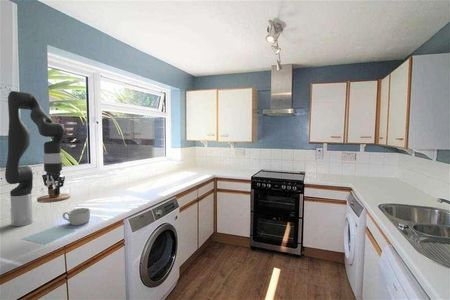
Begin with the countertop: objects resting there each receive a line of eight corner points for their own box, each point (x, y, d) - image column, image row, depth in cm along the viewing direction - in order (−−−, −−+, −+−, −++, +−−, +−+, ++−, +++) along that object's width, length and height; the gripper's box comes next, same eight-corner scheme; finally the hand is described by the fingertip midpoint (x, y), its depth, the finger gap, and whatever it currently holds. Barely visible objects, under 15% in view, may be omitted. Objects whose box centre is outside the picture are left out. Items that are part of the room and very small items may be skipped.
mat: (21, 240, 115) (21, 239, 115) (54, 228, 130) (54, 226, 130) (44, 246, 110) (44, 244, 110) (75, 232, 125) (75, 230, 125)
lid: (30, 200, 118) (29, 191, 118) (57, 194, 131) (57, 185, 131) (49, 204, 114) (49, 193, 113) (76, 196, 127) (76, 187, 126)
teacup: (94, 220, 143) (93, 207, 142) (83, 228, 132) (83, 214, 131) (70, 220, 142) (70, 207, 142) (58, 228, 132) (58, 214, 131)
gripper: (35, 161, 120) (36, 195, 121) (55, 163, 115) (56, 198, 116) (50, 160, 127) (51, 191, 128) (70, 161, 122) (70, 194, 124)
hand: (54, 194), depth 122 cm, fingers closed on lid, 4 cm apart
